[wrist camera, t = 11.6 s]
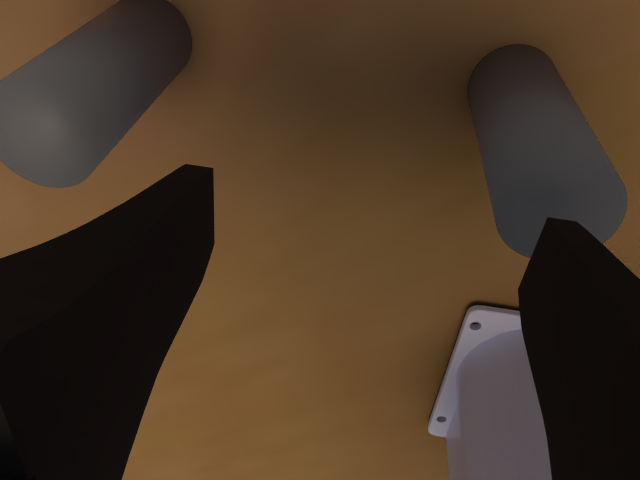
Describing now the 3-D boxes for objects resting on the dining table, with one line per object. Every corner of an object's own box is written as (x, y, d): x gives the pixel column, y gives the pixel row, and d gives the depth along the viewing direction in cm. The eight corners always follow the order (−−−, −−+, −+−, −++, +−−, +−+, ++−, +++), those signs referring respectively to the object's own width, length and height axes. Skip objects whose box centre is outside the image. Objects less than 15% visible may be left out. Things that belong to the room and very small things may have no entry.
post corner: (193, 82, 22) (104, 195, 15) (115, 71, 22) (-5, 178, 15) (190, -1, 20) (88, 87, 14) (105, -12, 20) (-36, 69, 14)
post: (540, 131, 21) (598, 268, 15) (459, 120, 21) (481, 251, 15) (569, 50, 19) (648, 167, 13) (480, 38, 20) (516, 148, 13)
